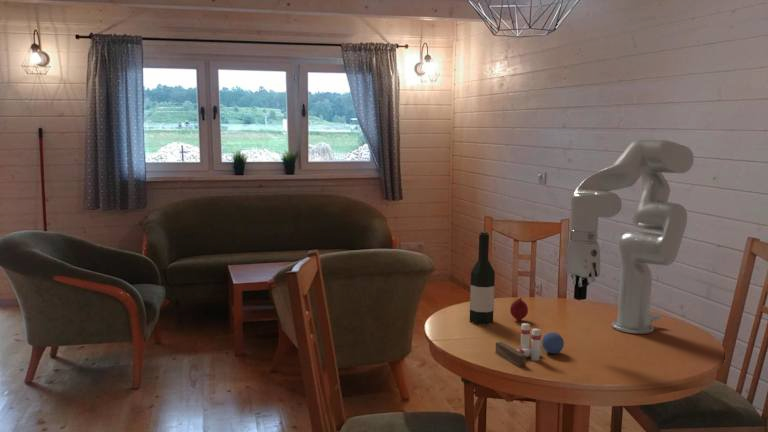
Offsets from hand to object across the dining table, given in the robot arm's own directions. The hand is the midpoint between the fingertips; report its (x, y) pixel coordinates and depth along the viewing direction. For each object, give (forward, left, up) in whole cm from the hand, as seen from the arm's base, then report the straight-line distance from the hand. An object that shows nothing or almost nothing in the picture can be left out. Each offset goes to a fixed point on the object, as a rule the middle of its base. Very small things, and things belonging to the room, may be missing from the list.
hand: (580, 298), depth 187 cm
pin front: (+13, 0, -14) cm, 19 cm away
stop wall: (+23, 0, -15) cm, 28 cm away
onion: (0, -30, -15) cm, 34 cm away
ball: (+9, 0, -12) cm, 15 cm away
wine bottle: (+12, -34, -15) cm, 39 cm away
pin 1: (+16, -2, -15) cm, 23 cm away
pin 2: (+16, +3, -15) cm, 23 cm away
